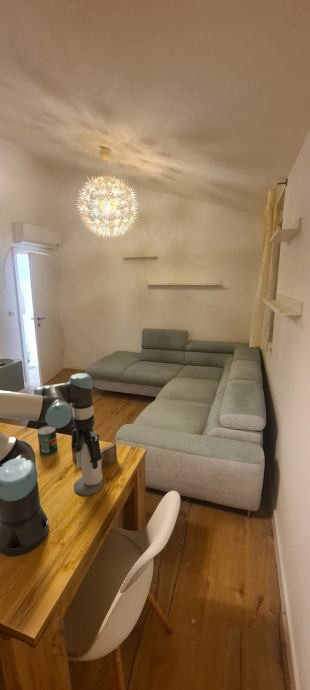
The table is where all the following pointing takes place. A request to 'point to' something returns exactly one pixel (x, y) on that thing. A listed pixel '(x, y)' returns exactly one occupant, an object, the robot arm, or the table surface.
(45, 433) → the canned tomato
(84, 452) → the milk bottle
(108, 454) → the bookends
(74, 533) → the table surface
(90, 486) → the coaster
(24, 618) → the table surface
